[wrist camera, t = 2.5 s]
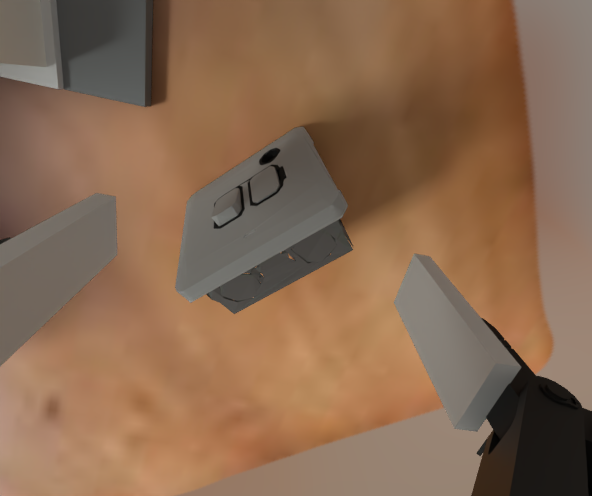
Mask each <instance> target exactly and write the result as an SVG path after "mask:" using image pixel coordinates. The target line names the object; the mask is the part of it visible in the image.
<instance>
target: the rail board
mask: <svg viewBox="0 0 592 496" xmlns="http://www.w3.org/2000/svg"><path fill="white" fill-rule="evenodd" d="M152 25H153V0H0V77H4V78H9V79H13V80H18V81H23V82H27V83H32V84H36V85H41V86H46V87H50V88H55V89H65V90H70V91H74V92H79V93H83V94H88V95H93V96H97V97H102V98H106V99H111V100H116V101H120V102H125V103H129V104H134V105H139V106H143V107H147V106H151V77H152Z"/></svg>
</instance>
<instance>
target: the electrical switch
mask: <svg viewBox="0 0 592 496" xmlns="http://www.w3.org/2000/svg"><path fill="white" fill-rule="evenodd" d="M313 144H314V142H313V140H312V139H311V137H310V135H309V134H308V132H307V131H306V129H305V128H304V126H303V127H297V128H294V129H292V130H291V131H289V132H288V133H286V134H285V135H283V136H282V137H280V138H278V139H277V140H275V141H274V142H272V143H271V144H269V145H268V146H266V147H265V148H263V149H262V150H260V151H259V152H257V153H256V154H254V155H252V156H251V157H249V158H248V159H246V160H245V161H243V162H242V163H240V164H239V165H237V166H236V167H234V168H233V169H231V170H229V171H228V172H226V173H225V174H223V175H222V176H220V177H219V178H217V179H216V180H214V181H213V182H211V183H210V184H208V185H207V186H205V187H203V188H202V189H200V190H199V191H197V192H196V193H195V194H193V195H192V196H191V197H190V199H189V200H188V201H187V207H186V214H185V221H184V228H183V236H182V243H181V250H180V257H179V264H178V272H177V279H176V286H175V288H176V290H177V292H178V293H180V294H181V295H182V296H183V297H185V298H186V299H187V300H188V301H189V302H190V303H191V302H193V301H195V300H196V299H198V298H200V297H202V296H203V295H205V294H207V295H208V296H209V297H210V298H211V299H212V300H215V301H217V302H220V303H221V304H222V305H224V306H225V307H226V308H227V309H229V310H230V311H231V312H232V313H234V314H235V313H237V312H239V311H241V310H243V309H244V308H246V307H248V306H250V305H252V304H254V303H256V302H257V301H259V300H261V299H263V298H265V297H267V296H269V295H270V294H272V293H274V292H276V291H278V290H280V289H282V288H283V287H285V286H287V285H289V284H291V283H293V282H294V281H296V280H298V279H300V278H302V277H304V276H306V275H307V274H309V273H311V272H313V271H315V270H317V269H319V268H320V267H322V266H324V265H326V264H328V263H330V262H332V261H333V260H335V259H337V258H339V257H341V256H343V255H344V254H346V253H348V252H350V251H352V250H353V249H352V247H351V245H352V243H351V241H350V239H349V236H348V234H347V232H346V230H345V228H344V226H343V224H342V222H341V220H340V218H342V217H343V215H344V213H345V211H346V209H347V207H348V204H347V202H346V200H345V198H344V197H343V195H342V193H341V191H340V190H338V189H337V187H336V185H335V184H334V182H333V180H332V178H331V176H330V174H329V173H328V171H327V169H326V167H325V165H324V163H323V161H322V160H321V158H320V156H319V154H318V152H317V150H316V149H315V147H314V145H313ZM345 236H346V237H345ZM347 239H348V240H349V242H350V243H351V245H350V243H349V242H348V240H347ZM352 246H353V245H352ZM280 252H282V253H281V254H280ZM330 253H331V255H330ZM288 254H289V255H290V256H291V257H292V258H293V259H295V260H292V259H290V258H289V257H288ZM256 266H257V267H256ZM255 267H256V268H255ZM243 273H250V274H243ZM260 273H262V274H263V276H264V277H263V276H262V275H261V274H260ZM260 282H261V283H260ZM252 297H254V298H252Z"/></svg>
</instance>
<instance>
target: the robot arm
mask: <svg viewBox="0 0 592 496" xmlns="http://www.w3.org/2000/svg"><path fill="white" fill-rule="evenodd" d="M116 255H117V226H116V197H115V196H110V195H105V194H99V193H95V194H94V195H92V196H90V197H88V198H86V199H84V200H82V201H80V202H79V203H77V204H75V205H73V206H71V207H69V208H67V209H65V210H64V211H62V212H60V213H58V214H56V215H54V216H52V217H51V218H49V219H47V220H45V221H43V222H41V223H39V224H37V225H36V226H34V227H32V228H30V229H28V230H26V231H24V232H23V233H21V234H19V235H17V236H15V237H13V238H6V239H2V240H0V366H1V365H2V364H3V363H4V362H5V361H6V360H7V359H9V358H10V357H11V356H12V355H13V354H14V353H15V352H16V351H17V350H18V349H19V348H20V347H21V346H22V345H23V344H24V343H25V342H26V341H27V340H28V339H29V338H31V337H32V336H33V335H34V334H35V333H36V332H37V331H38V330H39V329H40V328H41V327H42V326H43V325H44V324H45V323H46V322H47V321H48V320H49V319H50V318H51V317H53V316H54V315H55V314H56V313H57V312H58V311H59V310H60V309H61V308H62V307H63V306H64V305H65V304H66V303H67V302H68V301H69V300H70V299H71V298H72V297H73V296H75V295H76V294H77V293H78V292H79V291H80V290H81V289H82V288H83V287H84V286H85V285H86V284H87V283H88V282H89V281H90V280H91V279H92V278H93V277H94V276H95V275H97V274H98V273H99V272H100V271H101V270H102V269H103V268H104V267H105V266H106V265H107V264H108V263H109V262H110V261H111V260H112V259H113V258H114V257H115V256H116ZM394 304H395V306H396V308H397V310H398V312H399V314H400V316H401V319H402V321H403V323H404V325H405V327H406V329H407V331H408V333H409V335H410V337H411V339H412V341H413V343H414V346H415V348H416V350H417V352H418V354H419V356H420V358H421V360H422V362H423V364H424V366H425V368H426V371H427V373H428V375H429V377H430V379H431V381H432V383H433V385H434V387H435V389H436V391H437V393H438V396H439V398H440V400H441V402H442V404H443V406H444V408H445V410H446V412H447V414H448V416H449V418H450V420H451V423H452V424H453V427H454V428H455V429H462V430H469V431H478V429H479V428H480V427H481V425H482V424H483V422H484V421H485V420H486V418H487V420H488V421H489V423H490V425H491V426H492V428H493V431H492V432H491V434H490V435H489V436H488V438H487V439H486V441H485V442H484V444H483V445H482V446H481V448H480V449H479V451H478V452H477V454H478V455H479V456H481V455H482V453H483V456H482V460H481V463H480V467H479V470H478V474H477V477H476V481H475V484H474V488H473V492H472V495H471V496H592V411H589V410H587V409H584V408H582V406H581V404H580V402H579V401H578V400H577V399H576V398H575V396H574V395H573V394H571V393H570V392H569V391H568V390H567V389H565V388H564V387H562V386H561V385H559V384H558V383H556V382H554V381H552V380H549V379H547V378H544V377H540V376H536V375H535V374H534V373H533V372H532V371H531V369H530V368H529V367H528V366H527V365H526V363H525V362H524V361H523V360H522V359H521V358H520V356H519V355H518V354H517V353H516V352H515V351H514V349H511V346H510V345H509V344H508V342H507V341H506V340H504V338H503V337H502V335H501V334H500V333H499V332H498V331H497V329H496V328H495V327H493V326H492V325H491V324H489V323H488V322H487V321H486V320H484V319H483V318H480V316H479V315H478V314H477V313H476V312H475V310H474V309H473V308H472V307H471V306H470V304H469V303H468V302H467V301H466V300H465V298H464V297H463V296H462V295H461V293H460V292H459V291H458V290H457V289H456V287H455V286H454V285H453V284H452V283H451V281H450V280H449V279H448V278H447V277H446V275H445V274H444V273H443V272H442V271H441V269H440V268H439V267H438V266H437V264H436V263H435V262H434V261H433V260H432V258H431V257H430V256H425V255H420V254H414V255H413V257H412V260H411V262H410V265H409V267H408V269H407V272H406V274H405V277H404V279H403V282H402V284H401V286H400V289H399V291H398V294H397V296H396V298H395V301H394Z"/></svg>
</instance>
